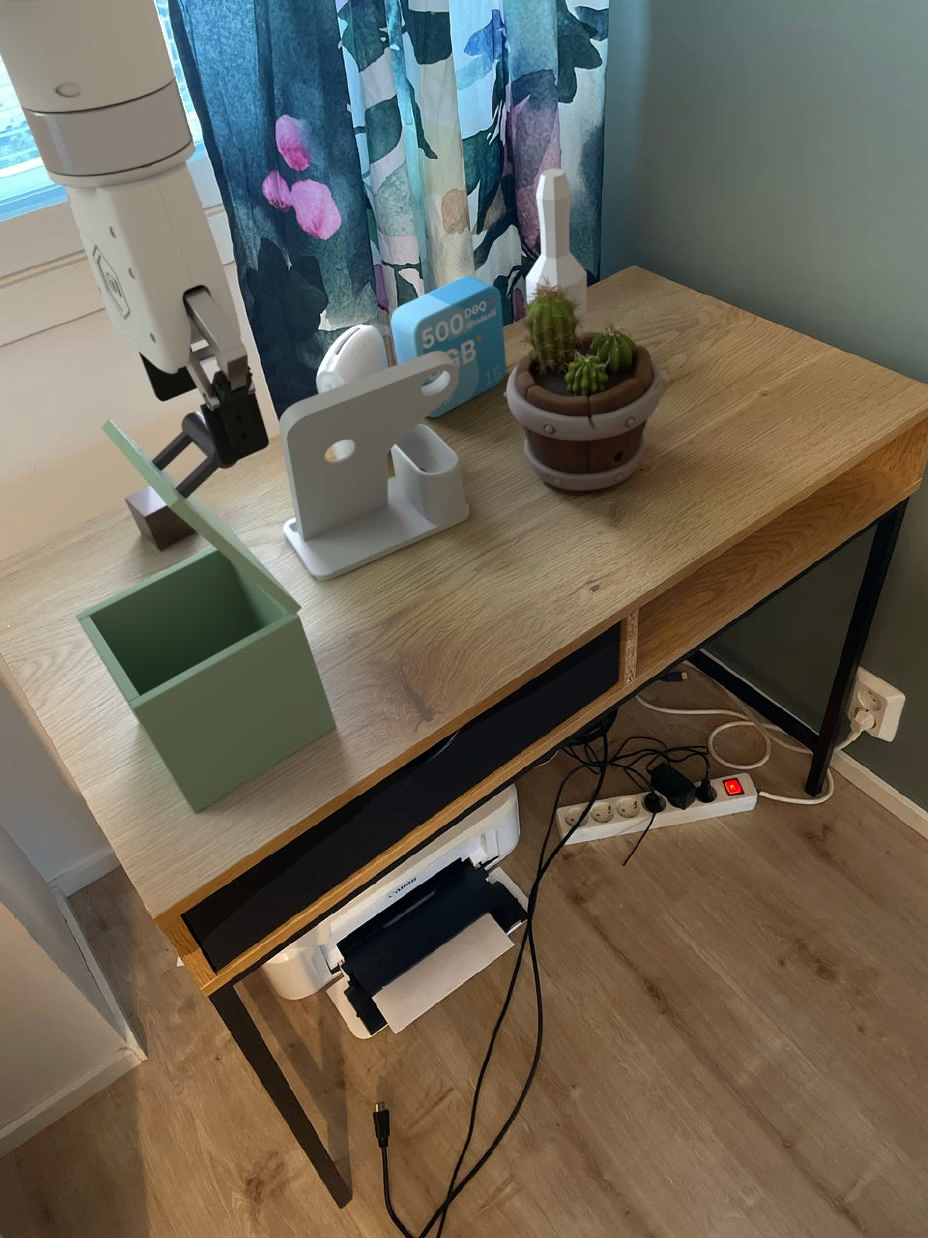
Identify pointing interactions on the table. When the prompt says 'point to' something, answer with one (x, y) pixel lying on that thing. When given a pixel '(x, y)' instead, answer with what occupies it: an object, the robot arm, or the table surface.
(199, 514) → the green box lid
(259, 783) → the table surface
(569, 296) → the low poly bottle
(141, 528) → the block
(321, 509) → the phone holder
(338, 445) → the photo printer
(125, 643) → the box
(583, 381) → the flowerpot
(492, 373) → the data package
